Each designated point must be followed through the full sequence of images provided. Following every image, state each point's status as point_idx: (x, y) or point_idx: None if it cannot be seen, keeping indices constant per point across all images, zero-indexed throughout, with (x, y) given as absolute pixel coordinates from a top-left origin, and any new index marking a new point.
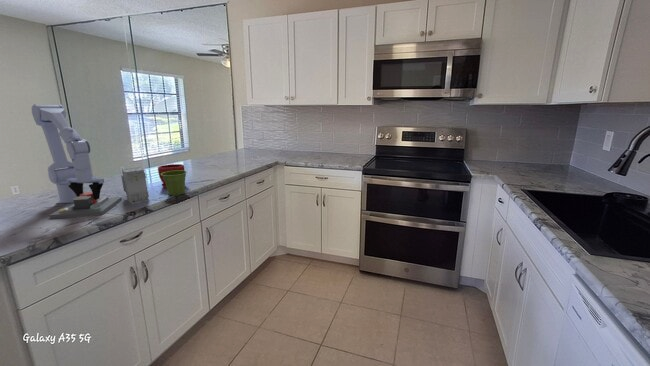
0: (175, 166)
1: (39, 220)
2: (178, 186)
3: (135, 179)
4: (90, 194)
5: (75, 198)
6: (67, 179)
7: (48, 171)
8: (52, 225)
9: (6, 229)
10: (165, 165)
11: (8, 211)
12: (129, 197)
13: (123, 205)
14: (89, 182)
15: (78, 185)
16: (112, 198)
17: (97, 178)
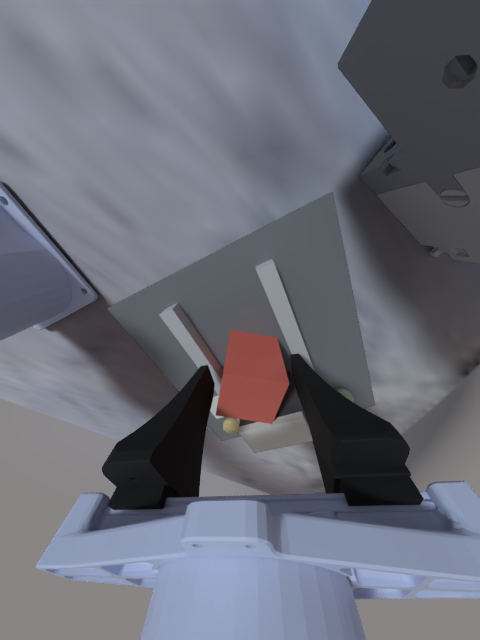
0: None
1: (209, 437)
2: None
3: None
4: (278, 403)
5: (260, 448)
6: (88, 579)
7: None
8: (280, 453)
9: (202, 469)
10: None
11: (25, 403)
12: (461, 248)
13: (395, 291)
14: (300, 512)
15: (183, 469)
16: (287, 239)
17: (428, 577)
